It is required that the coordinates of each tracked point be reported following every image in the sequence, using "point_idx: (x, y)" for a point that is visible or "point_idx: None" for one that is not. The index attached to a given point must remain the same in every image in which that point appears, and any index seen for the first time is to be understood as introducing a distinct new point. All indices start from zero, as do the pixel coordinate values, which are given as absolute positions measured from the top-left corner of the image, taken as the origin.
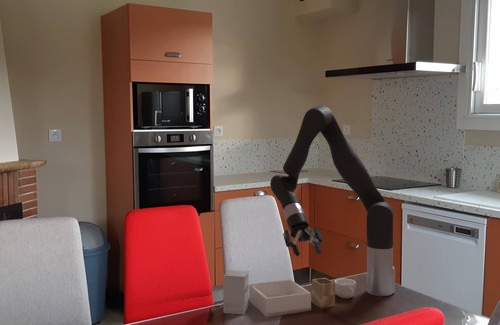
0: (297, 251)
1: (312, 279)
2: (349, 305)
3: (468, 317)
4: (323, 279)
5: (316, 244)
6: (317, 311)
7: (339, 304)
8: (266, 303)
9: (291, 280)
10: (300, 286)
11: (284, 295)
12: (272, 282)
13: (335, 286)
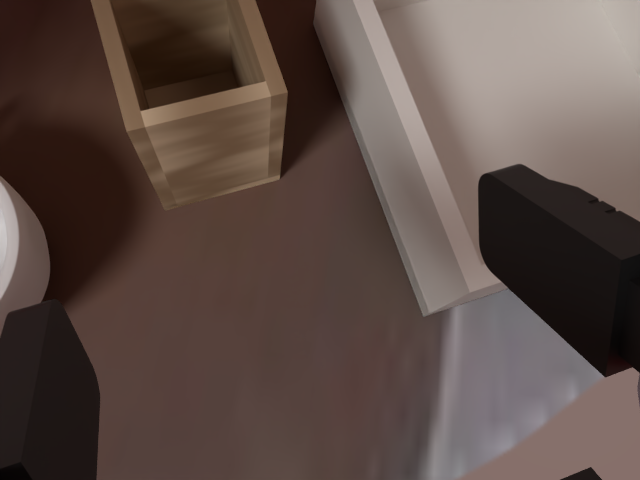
0: (540, 178)
1: (280, 88)
2: (21, 85)
3: None
4: (160, 110)
5: (33, 442)
6: (273, 10)
7: (88, 110)
8: None
9: (463, 262)
10: (392, 84)
11: (480, 260)
12: (637, 215)
13: (34, 237)
